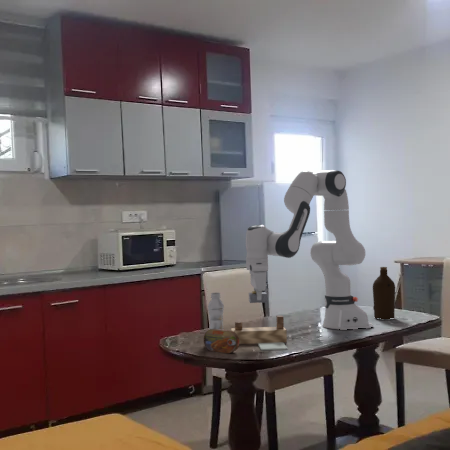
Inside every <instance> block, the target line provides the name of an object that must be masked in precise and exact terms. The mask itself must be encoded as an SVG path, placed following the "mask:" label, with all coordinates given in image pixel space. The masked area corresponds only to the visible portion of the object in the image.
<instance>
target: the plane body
mask: <svg viewBox="0 0 450 450" xmlns="http://www.w3.org/2000/svg"><path fill="white" fill-rule="evenodd" d="M275 318H276V326H263V327H261V326H259V327H243V322H242V321H234V327H233V328H232V327H231V328H230V330H231V331H234V332H235V333H236V334H237V335H238V337H239V345H245V344H247V345H248V344H249V345H251V344H258V343H277V342H283V343H287V341H288V340H287V337H288V334H287V330H288V329H286V328H285V327H284V326H285V323H284V322H285V321H284V318H285V317H284V315H276V317H275Z"/></svg>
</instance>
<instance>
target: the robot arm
mask: <svg viewBox="0 0 450 450" xmlns="http://www.w3.org/2000/svg"><path fill="white" fill-rule="evenodd" d="M346 186H347V180H346V176H345V174H344V173H343V172H342V171H340V170H338V169H329V170H328V169H327V170H325V169H324V170H323V169H322V170H318V171H314V172H312V171H310V170H302V171H300V172H299V173H298V174H297V175H296V176H295V178H294V179H293V181H292V182H291V184H290V185H289V187H288V189H287V191H286V192H285V194H284V197H283V202H284V205H285V207H286V209H287V210H288V211H289V212H291V213H292V214H293V216H292V219H291V221H290V225H289V227H288V229H287V230H285V231H284V232H274V231H272V230H270V229H268V228H267V227H266V225H264V224H256V225H255V224H254V225H252V226H249V227H247V229H246V233H245V249H246V256H245V263H246V268H245V269H246V271H249V274H250V284H251V286H252V287H253V291H256V292H257V300H261V295H262V292H266V287H267V272H268V270H269V259H268V257H269V256H275V257H283V258H287V259H291V258H293V257H294V256H296V254H298V252H299V250H300V247H301V246H300V245H301V240H302V236H303V233H304V231H305V228H306V225H307V223H308V221H309V217H310V214H311V206H310V204H311V201H312V200H313V198H314V197H315V196H318V197H319V196H321V197H323V198H324V199H323V200H324V201H323V202H324V204H323V206H324V207H323V210H324V211H323V212H324V213H323V215H324V216H323V217H324V219H323V220H324V221H323V222H324V228H325V230H326V231H328V232H329V233H331V234H332V235H333V236H334V238H335V240H320V241H316V242H314V243H313V244H312V246H311V248H310V257H311V260H312V261H313V262H314V263H315V264H316V265H318V267H319V269H320V270H321V272H322V274H323V277H324V284H325V285H324V286H325V295H324V307H325V311H324V318H323V323H322V327H323V328H326V329H333V330H339V329H340V330H341V331H348V330H347V329H353V330H359V329H358V328H366V329H372V328H371V327H373V328H374V324H373V323H372V322H370V321H369V317H368V314H367V312H366V311H365V310H364V309H362V308H361V307H359V306H358V305H357V304H356V302H358V301H359V298H358V297H357V296H352V295H351V279H350V277H349V276H348V275H347V274H346V273H344V272H343V271H342V270H341V269H340V266H355V265H360V264H362V263H363V261H364V260H365V258H366V249H365V247H364V245H363V244H362V243H361V242H360V241H358V239H356V237H355V236H354V234H353V232H352V229H351V225H350V224H351V223H350V222H351V221H350V208H349V207H350V206H349V204H350V203H349V198H348V192H347V189H346ZM340 330H339V331H340Z"/></svg>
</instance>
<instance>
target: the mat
mask: <svg viewBox="0 0 450 450" xmlns="http://www.w3.org/2000/svg"><path fill="white" fill-rule="evenodd" d="M257 346H258V347H259V349H260V351H283V350H285V351H286V350H288V347H287V345H285V342H277V343H257Z"/></svg>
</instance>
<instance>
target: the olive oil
mask: <svg viewBox="0 0 450 450" xmlns="http://www.w3.org/2000/svg"><path fill="white" fill-rule="evenodd" d="M379 269H380V270H379V276H378V277H376V279H375V280H374V282H373V283H372V301H373V306H372V309H373V315H374V317H375V318H381V319H390V318H394V319H395V311H396V310H395V307H396V304H395V302H396V284H395V282H394V281H393V279H392V278H391V277H390V276H389V275H388V267H387V266H380V267H379ZM375 318H374V319H375Z"/></svg>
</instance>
